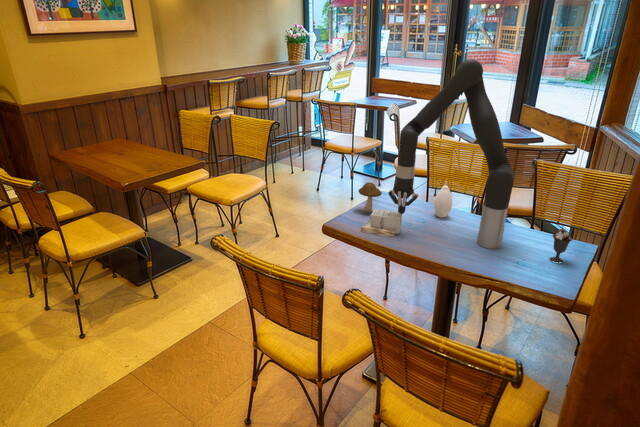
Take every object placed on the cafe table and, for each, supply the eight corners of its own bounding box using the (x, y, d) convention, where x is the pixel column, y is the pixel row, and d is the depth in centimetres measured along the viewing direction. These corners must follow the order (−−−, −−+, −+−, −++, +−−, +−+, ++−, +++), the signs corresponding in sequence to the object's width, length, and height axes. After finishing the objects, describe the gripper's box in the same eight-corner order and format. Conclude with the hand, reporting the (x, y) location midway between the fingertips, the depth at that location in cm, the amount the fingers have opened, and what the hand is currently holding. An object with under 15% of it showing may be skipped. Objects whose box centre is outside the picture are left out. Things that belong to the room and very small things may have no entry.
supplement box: (398, 234, 184) (369, 230, 188) (401, 227, 191) (372, 223, 194) (400, 218, 181) (370, 214, 185) (402, 211, 188) (373, 208, 191)
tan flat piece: (401, 224, 194) (401, 220, 193) (393, 237, 183) (394, 232, 182) (370, 219, 199) (370, 214, 199) (361, 231, 188) (361, 226, 187)
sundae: (549, 254, 170) (557, 220, 164) (567, 260, 167) (577, 225, 161) (544, 261, 166) (553, 225, 160) (563, 266, 162) (573, 231, 156)
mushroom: (375, 218, 201) (377, 188, 194) (353, 213, 206) (355, 183, 200) (383, 211, 208) (385, 182, 202) (362, 206, 213) (363, 178, 207)
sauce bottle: (443, 221, 198) (448, 185, 191) (429, 216, 203) (434, 180, 196) (453, 217, 202) (458, 181, 195) (439, 212, 208) (444, 176, 201)
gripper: (422, 174, 178) (418, 212, 186) (391, 170, 183) (388, 207, 190) (419, 180, 172) (414, 219, 179) (387, 175, 177) (384, 214, 184)
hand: (401, 213), depth 185 cm, fingers closed
